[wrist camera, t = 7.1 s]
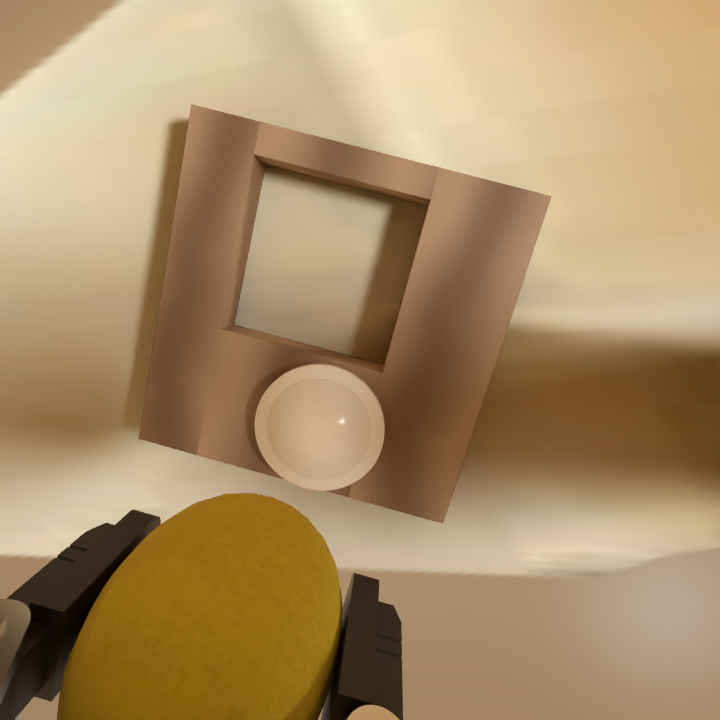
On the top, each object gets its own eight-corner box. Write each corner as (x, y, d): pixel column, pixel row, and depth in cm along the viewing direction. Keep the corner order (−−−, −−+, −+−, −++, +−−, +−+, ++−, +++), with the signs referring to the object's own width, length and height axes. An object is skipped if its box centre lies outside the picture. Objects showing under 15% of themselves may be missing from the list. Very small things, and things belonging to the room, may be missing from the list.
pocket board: (537, 202, 23) (551, 196, 21) (439, 504, 27) (442, 523, 25) (208, 118, 23) (191, 104, 21) (157, 426, 27) (138, 438, 25)
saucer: (399, 382, 23) (400, 386, 22) (366, 498, 25) (365, 506, 24) (273, 348, 23) (268, 351, 23) (248, 465, 25) (242, 472, 24)
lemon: (219, 615, 15) (29, 991, 7) (164, 469, 14) (-125, 718, 6) (375, 586, 14) (353, 966, 6) (328, 430, 13) (235, 655, 6)
